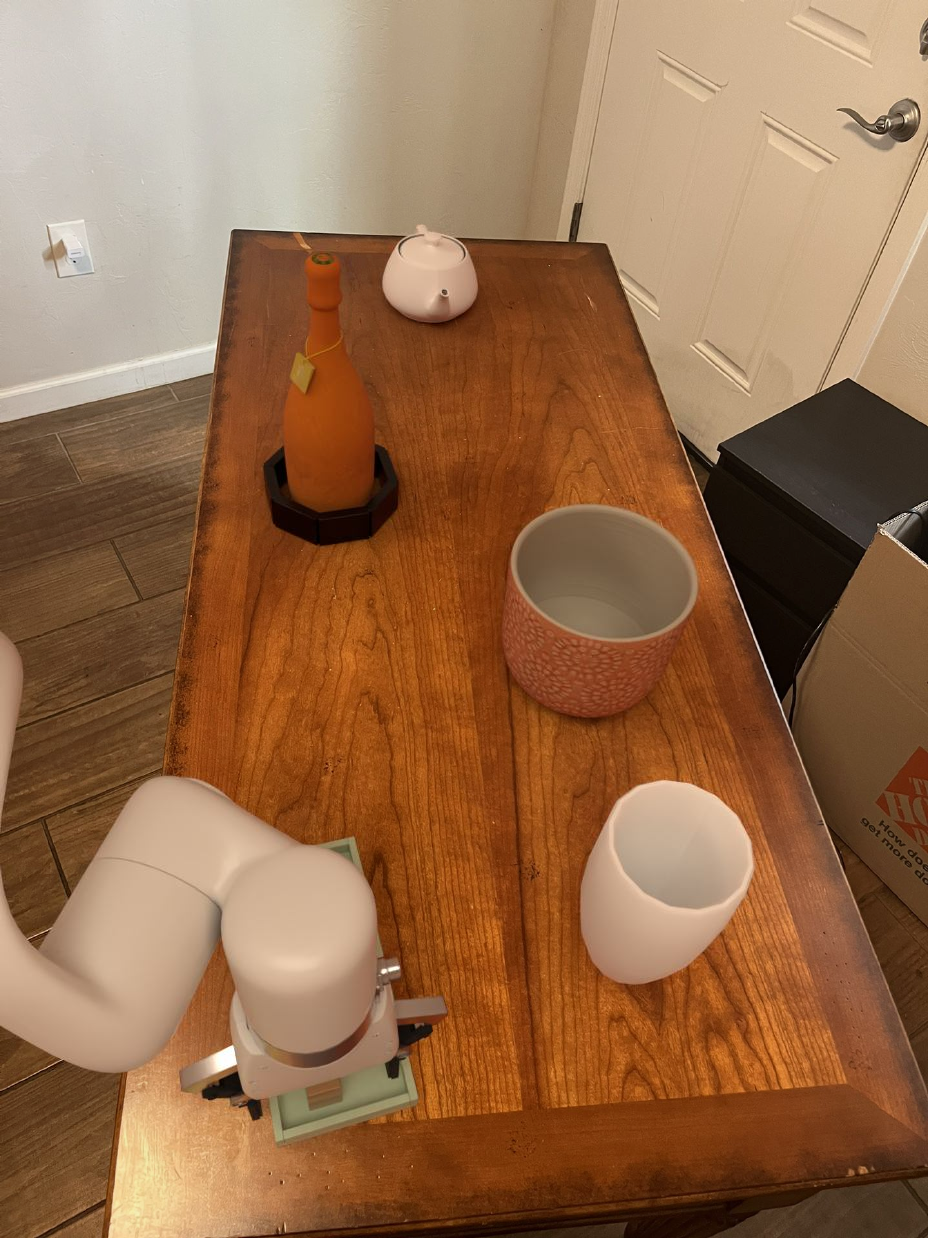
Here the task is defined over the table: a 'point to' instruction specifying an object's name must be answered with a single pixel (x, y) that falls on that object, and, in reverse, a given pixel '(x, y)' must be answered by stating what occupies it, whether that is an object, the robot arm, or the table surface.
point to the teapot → (430, 277)
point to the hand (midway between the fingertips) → (322, 1076)
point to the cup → (662, 880)
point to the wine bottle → (327, 407)
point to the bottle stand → (337, 522)
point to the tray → (344, 1080)
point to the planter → (595, 607)
